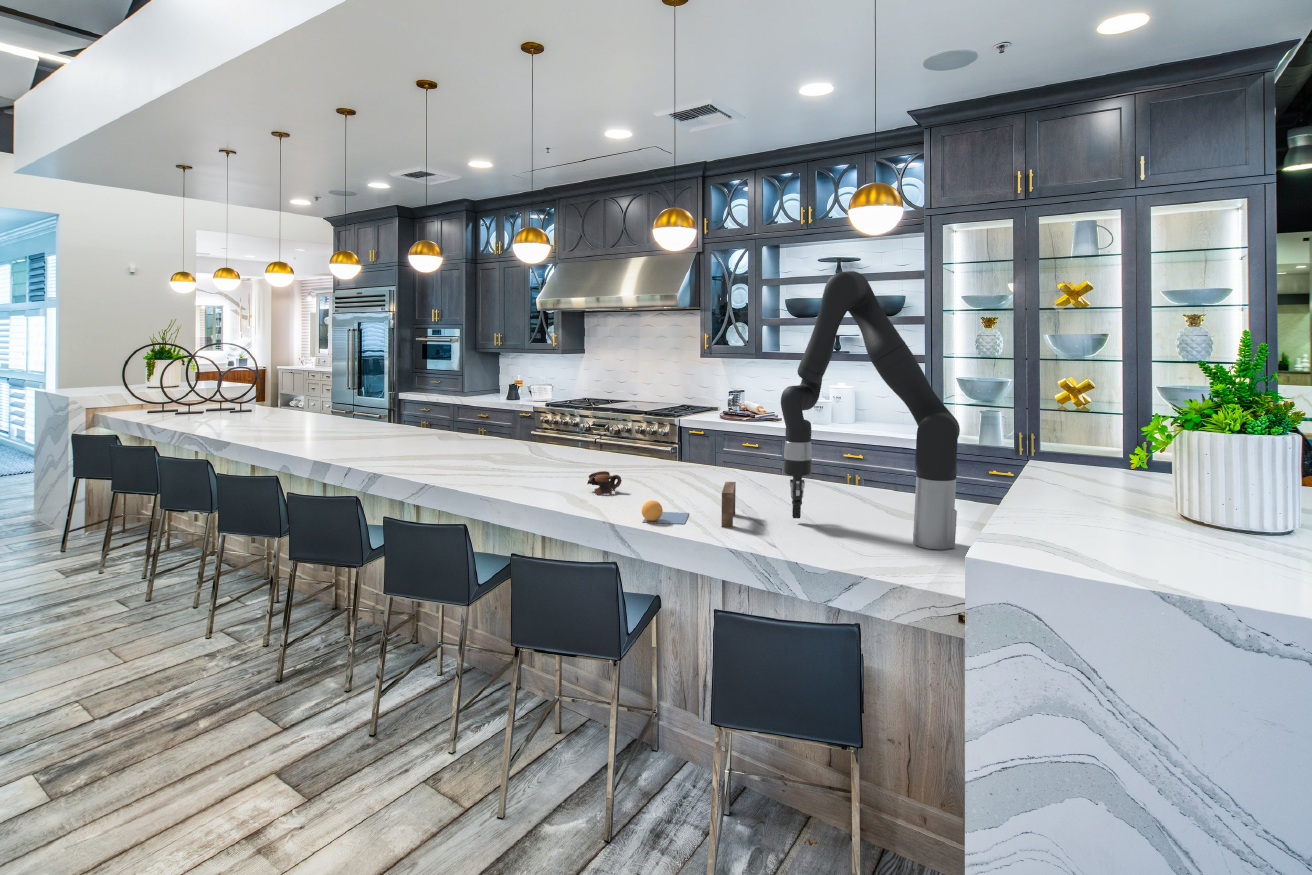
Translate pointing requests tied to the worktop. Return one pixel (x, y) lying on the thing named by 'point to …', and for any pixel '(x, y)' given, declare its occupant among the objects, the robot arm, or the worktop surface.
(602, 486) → the pottery mug
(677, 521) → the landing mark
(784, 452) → the robot arm
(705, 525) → the worktop surface
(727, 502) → the bridge
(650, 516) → the ball
